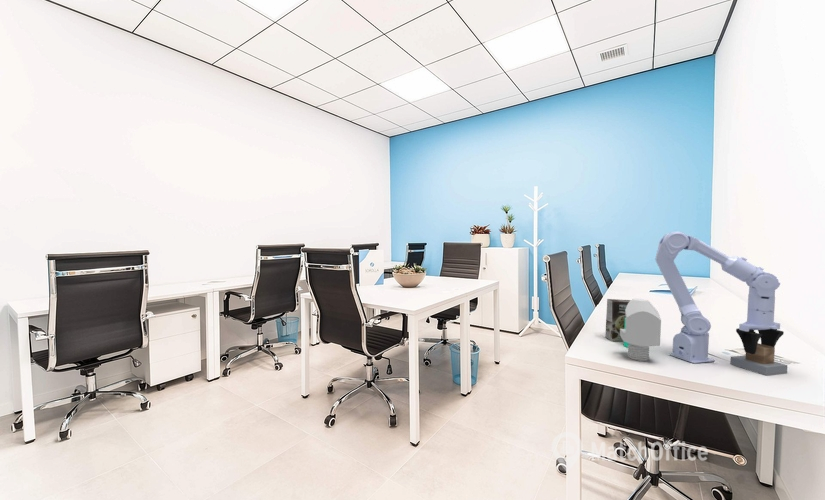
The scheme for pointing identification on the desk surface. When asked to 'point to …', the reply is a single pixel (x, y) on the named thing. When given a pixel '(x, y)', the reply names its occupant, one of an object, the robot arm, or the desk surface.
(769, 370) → the plinth
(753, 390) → the desk surface
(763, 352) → the block
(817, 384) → the desk surface
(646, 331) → the light fixture
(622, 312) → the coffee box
